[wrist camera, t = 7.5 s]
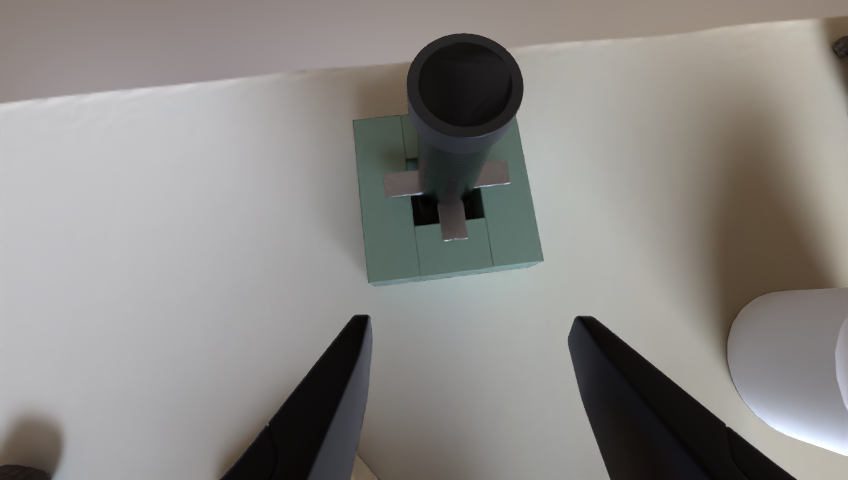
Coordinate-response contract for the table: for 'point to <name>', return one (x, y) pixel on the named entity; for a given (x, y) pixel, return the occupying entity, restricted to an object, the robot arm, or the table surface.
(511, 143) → the green square frame
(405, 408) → the table surface
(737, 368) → the cylinder with rectangular tab
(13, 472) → the cleaver
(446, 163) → the black flanged tube
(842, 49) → the rhino figurine
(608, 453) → the robot arm
